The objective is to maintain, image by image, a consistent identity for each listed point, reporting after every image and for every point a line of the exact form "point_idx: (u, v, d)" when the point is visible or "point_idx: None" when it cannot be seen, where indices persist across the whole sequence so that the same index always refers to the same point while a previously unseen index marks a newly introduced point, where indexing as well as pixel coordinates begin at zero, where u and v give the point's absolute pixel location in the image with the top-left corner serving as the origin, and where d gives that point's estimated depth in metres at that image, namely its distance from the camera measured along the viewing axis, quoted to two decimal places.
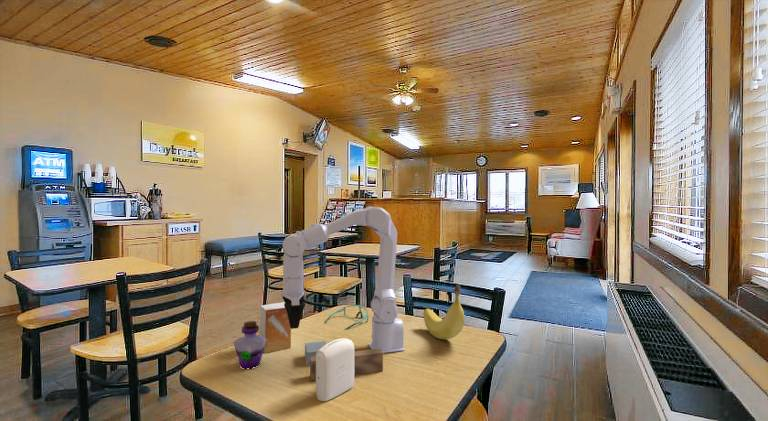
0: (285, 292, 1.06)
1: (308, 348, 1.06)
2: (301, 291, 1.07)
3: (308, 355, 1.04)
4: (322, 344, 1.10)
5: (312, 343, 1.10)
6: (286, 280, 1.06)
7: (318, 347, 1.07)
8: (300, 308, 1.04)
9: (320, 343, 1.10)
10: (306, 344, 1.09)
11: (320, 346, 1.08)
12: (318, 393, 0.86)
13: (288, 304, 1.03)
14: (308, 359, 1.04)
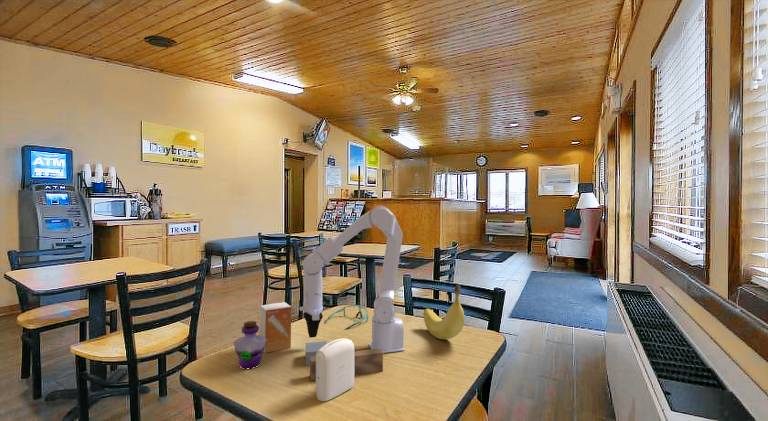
0: (305, 307, 1.14)
1: (308, 348, 1.06)
2: (320, 306, 1.15)
3: (307, 355, 1.04)
4: (322, 344, 1.09)
5: (313, 343, 1.10)
6: (306, 296, 1.13)
7: (318, 347, 1.07)
8: (318, 319, 1.14)
9: (320, 343, 1.10)
10: (306, 344, 1.10)
11: (320, 346, 1.08)
12: (318, 393, 0.86)
13: (307, 315, 1.14)
14: (307, 359, 1.04)
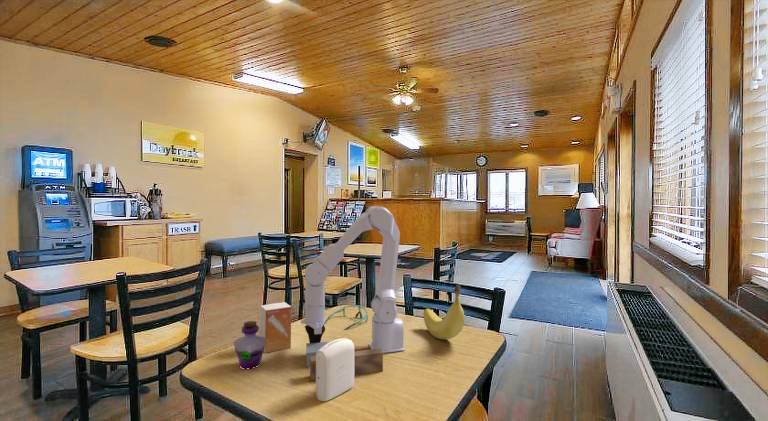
0: (307, 320, 1.09)
1: (308, 349, 1.05)
2: (323, 319, 1.10)
3: (307, 356, 1.03)
4: (323, 345, 1.08)
5: (313, 344, 1.09)
6: (308, 308, 1.09)
7: (319, 348, 1.06)
8: None
9: (321, 344, 1.09)
10: (307, 344, 1.09)
11: (320, 347, 1.07)
12: (318, 393, 0.86)
13: (309, 328, 1.10)
14: (307, 360, 1.03)
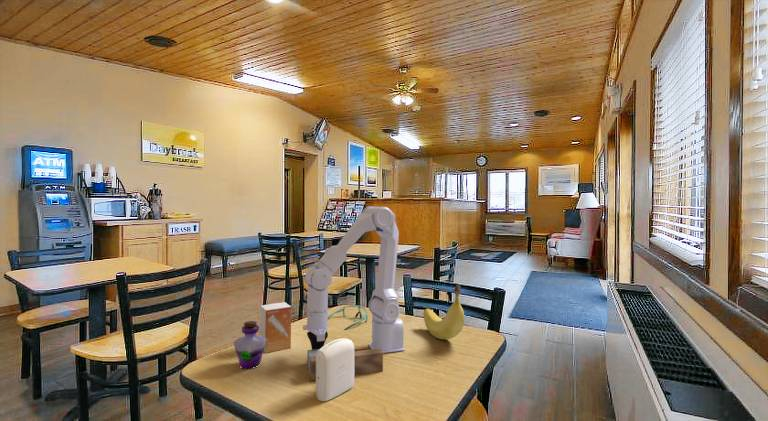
0: (309, 326, 1.04)
1: None
2: (325, 325, 1.05)
3: None
4: None
5: (315, 350, 1.05)
6: (310, 314, 1.04)
7: None
8: None
9: None
10: (309, 351, 1.04)
11: None
12: (318, 393, 0.86)
13: (311, 334, 1.05)
14: None
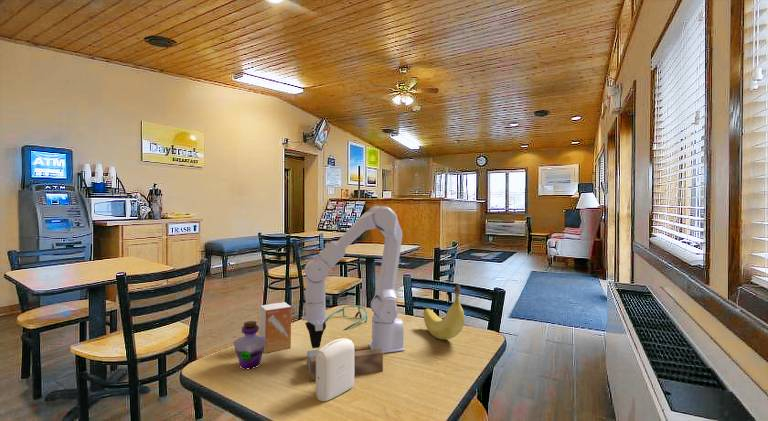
0: (308, 317, 1.08)
1: None
2: (323, 315, 1.09)
3: None
4: None
5: (315, 351, 1.05)
6: (309, 305, 1.08)
7: None
8: None
9: None
10: (309, 352, 1.04)
11: None
12: (318, 393, 0.86)
13: (310, 325, 1.08)
14: None
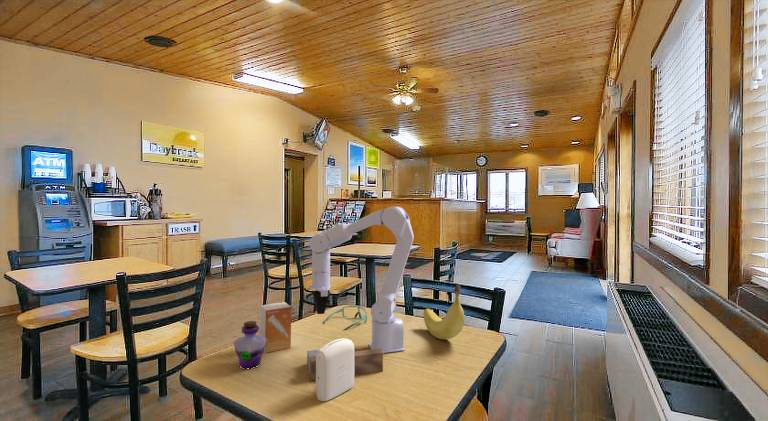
0: (314, 285, 1.18)
1: None
2: (328, 284, 1.19)
3: None
4: None
5: (315, 351, 1.05)
6: (315, 274, 1.18)
7: None
8: (326, 296, 1.19)
9: None
10: (309, 352, 1.04)
11: None
12: (318, 393, 0.86)
13: (316, 292, 1.18)
14: None
